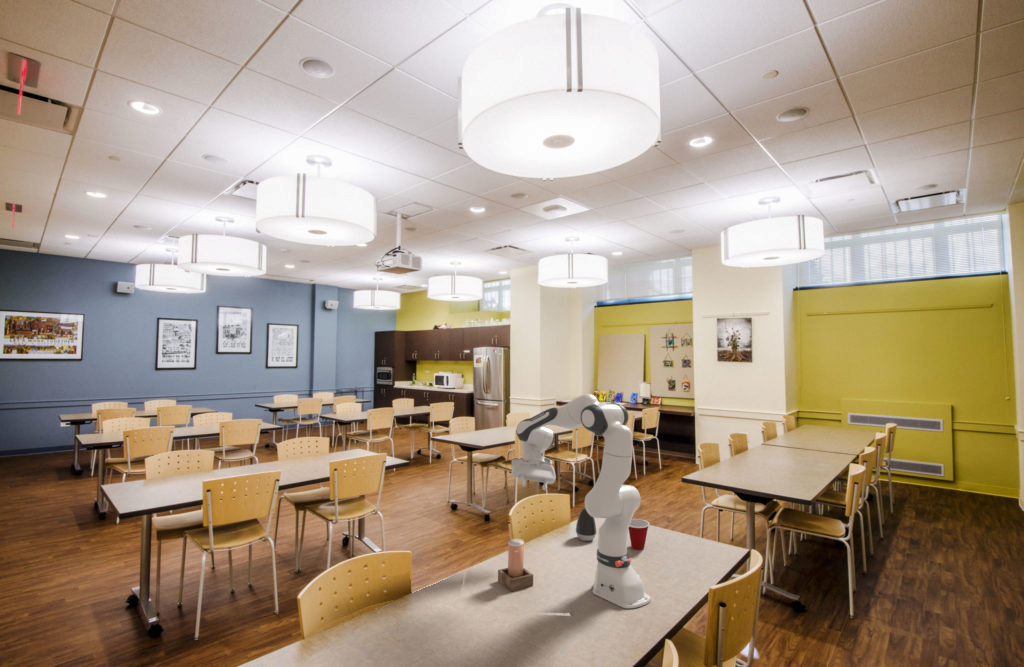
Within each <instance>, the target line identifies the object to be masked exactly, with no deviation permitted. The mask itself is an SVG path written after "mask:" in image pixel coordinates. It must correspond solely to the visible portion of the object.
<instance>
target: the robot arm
mask: <svg viewBox="0 0 1024 667" xmlns="http://www.w3.org/2000/svg"><path fill="white" fill-rule="evenodd" d="M628 421H629V412H628V410H627V408H626V407H625V406H623V405H621V404H620V403H615V402H601V403H600V402H599V400H598V398H597V397H596V396H594V394H591V393H583V394H581V395H579V396H577V397H575V398H574V399H572V400H571V401H569V402H568V403H565V404H562V405H559V406H556V407H550V408H548V409H545V410H543V411H542V412H540V413H538V414H536V415H534V416H531V417H529V418H526V419H523V420H522V421H520V422H519V423H518V425H517V427H516V428H515V433H516V436H517V439H518V440H519V441H521V444H522V445H521V447H522V448H521V449H522V453H523V454H522V458H516V457H515V458H511V466H512V467H511V476H512V477H513V478H518V479H519V481H520V483H521V485H522V487H527V481H526V480H528V481H534V482H537V483H543V485H542V486H541V489H542V490H543V491H546V490H547V489H548V486H547V485H548V484H549V485H553V484H554V483H555V481H556V478H557V476H556V471H555V468H554V466H553V460H551V459H549V458H547V457H545V456H544V455H542V454H543V453H544V452H546V451H547V450H549V449H550V448H551V447H553V446H554V444H555V433H554V430H552V429H550V428H548V427H546V426H549V425H550V426H557V427H561V428H565V429H568V430H574V429H577V428H579V427H584V429H586V430H587V431H589V432H591V433H594V434H595V436H601V435H602V436H603V439H604V445H603V453H602V454H603V455H602V462H601V469H600V473H599V474H598V478H597V480H596V482H595V483H594V485H593V487H592V489H591V490H590V491H589V492H588V493H586V495H585V497H584V508H586V511H587V512H588V514H589V515H590V516H592V517H594V519H596V518H597V519H605V520H604V521H603V523H602V524H601V525H600V527H599V528H598V533H597V534H598V538H597V543H598V544H597V550H596V560H597V564H596V570H595V577H594V581H593V585H592V587H593V589H592V593H593V595H596V596H597V597H599V598H601V599H604V600H606V601H608V602H610V603H612V604H614V605H616V606H618V607H620V608H623V609H636V608H640V607H644V606H646V605H647V604H649V603H650V602H651V596H650V595H649V594H648V593H646V592H645V586H644V582H643V581H642V578H641V576H640V575H639V574H638V573H637V572H636V571H635V569H634V568H633V566H632V565H631V562H632V560H633V558H632V557H631V558H630V557H629V553H628V549H627V548H628V535H629V534H628V533H629V525H630V522H631V519H633V516H634V514H635V512H636V511H637V510H638V509H639V507H640V506H641V503H642V500H641V499H642V498H641V495H640V492H639V490H638V489H637V488H636V487H635V486H633V485H630V484H624V483H625V481H626V480H628V479H629V477H630V475H631V471H632V464H633V463H632V461H633V460H632V459H633V451H634V450H633V449H634V445H633V444H634V442H633V433H632V429H631V428H629V427H628V426H626V425H627V424H628Z"/></svg>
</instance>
